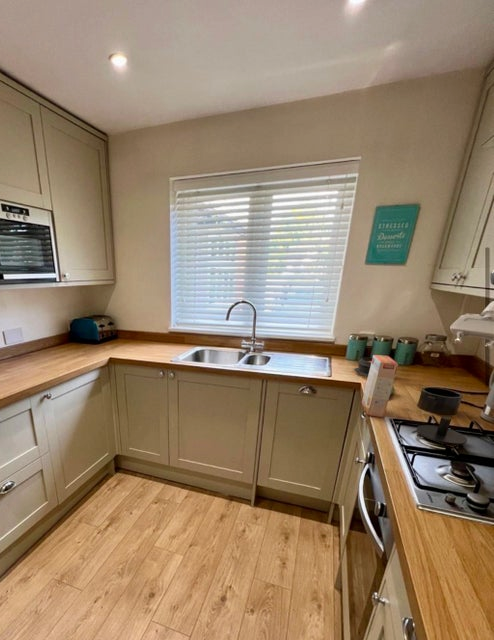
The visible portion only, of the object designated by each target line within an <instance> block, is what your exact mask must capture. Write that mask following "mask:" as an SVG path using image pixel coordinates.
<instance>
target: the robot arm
mask: <svg viewBox="0 0 494 640" xmlns="http://www.w3.org/2000/svg"><path fill="white" fill-rule="evenodd" d="M489 281H490V284H491V285H492V286H494V268H493V269H492V270H491V271H490V276H489ZM449 330H450V332H451V334H452V335H456V338H455V339H454V341H453V342H454V344H457V345H461V344H462V342H463V337H469V338H474V339H475V338H476V339H483V340H489V341H488V342H486V344H485V345H484V349H486V350H492V349H493V348H494V300H492V301H490V303H489V304H488V305H487V306H486V307H485V308H484V310H483V311H482V312H481V313H472V312H468V313H465V314H462V315H460V316H459V318H457V319H456V320H455V321H454V322H453V323H452V324H451V325H450V326H449ZM490 340H491V341H490Z"/></svg>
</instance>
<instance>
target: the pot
mask: <svg viewBox="0 0 494 640" xmlns="http://www.w3.org/2000/svg"><path fill="white" fill-rule="evenodd" d="M420 391H421V392H420V394H419V398H418V401H417V404H416V406H417V408H418V409H419V410H422V411H424V412H427V413H430V414H434V415H440V416H446V417H448V416H449V417H450V416H455V415H457V414H458V411H459V408H460V406H461V403H462V399H463V398H464V397H463V394H461V393H460V392H457V391H455V390H451V389H448V388H442V387H436V386H435V387H434V386H433V387H432V386H428V387H427V386H426V387H422V388H421V390H420ZM430 414H425V413H424V415H425V416H428V417H430ZM434 418H435V419H436V418H437V417H435V416H434Z"/></svg>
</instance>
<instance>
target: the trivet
mask: <svg viewBox="0 0 494 640" xmlns="http://www.w3.org/2000/svg"><path fill="white" fill-rule="evenodd" d="M416 437H418V438H420V437H424V436H422V435H421V434H419V433H417V434H416ZM425 438H426V437H425ZM427 439H429V438H427ZM430 440H431V439H430ZM433 441H434V440H433ZM436 442H438V441H436ZM438 443H441V442H438ZM441 444H445V445H447V446H450V447H454V446H456V445H455V444H446V443H441ZM456 447H457V446H456ZM454 448H455V447H454Z"/></svg>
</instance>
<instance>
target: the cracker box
mask: <svg viewBox="0 0 494 640" xmlns="http://www.w3.org/2000/svg"><path fill="white" fill-rule="evenodd" d="M371 358H372V362H371V366H370V371H369V375H368V377H367V379H366V384H365V388H364V392H363V396H362V400H361V406H362V407H363V409H364V411H365V413H366V414H367V416H372V417H377V418H385V414H386V410H387V407H388V403H389V401H390V400H389V399H390V397H391V395H390V392H391V389H392V385H393V386H394V381H395V376H396V374H397V370H398V366H399V363H397V362H396V361H395V360H394V359H393V358H392V357H390V356H389V355H384V354H383V355H382V354H373V355H372V357H371Z"/></svg>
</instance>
